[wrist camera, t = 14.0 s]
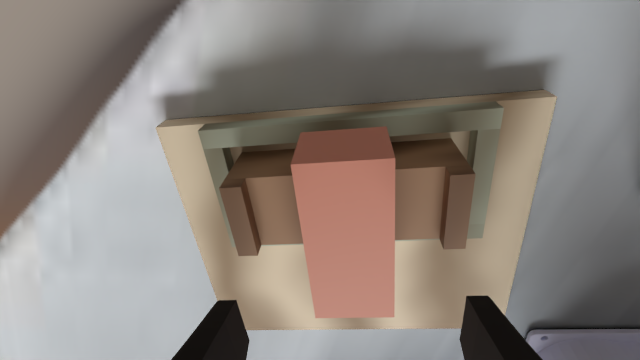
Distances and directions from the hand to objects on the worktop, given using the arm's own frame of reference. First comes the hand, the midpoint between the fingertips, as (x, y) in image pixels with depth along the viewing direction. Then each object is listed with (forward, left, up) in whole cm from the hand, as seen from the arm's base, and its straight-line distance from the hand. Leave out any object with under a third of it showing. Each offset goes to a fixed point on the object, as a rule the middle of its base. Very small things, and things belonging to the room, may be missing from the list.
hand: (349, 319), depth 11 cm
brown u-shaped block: (0, 0, -9) cm, 9 cm away
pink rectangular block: (0, 0, -6) cm, 6 cm away
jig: (0, +5, -10) cm, 11 cm away
